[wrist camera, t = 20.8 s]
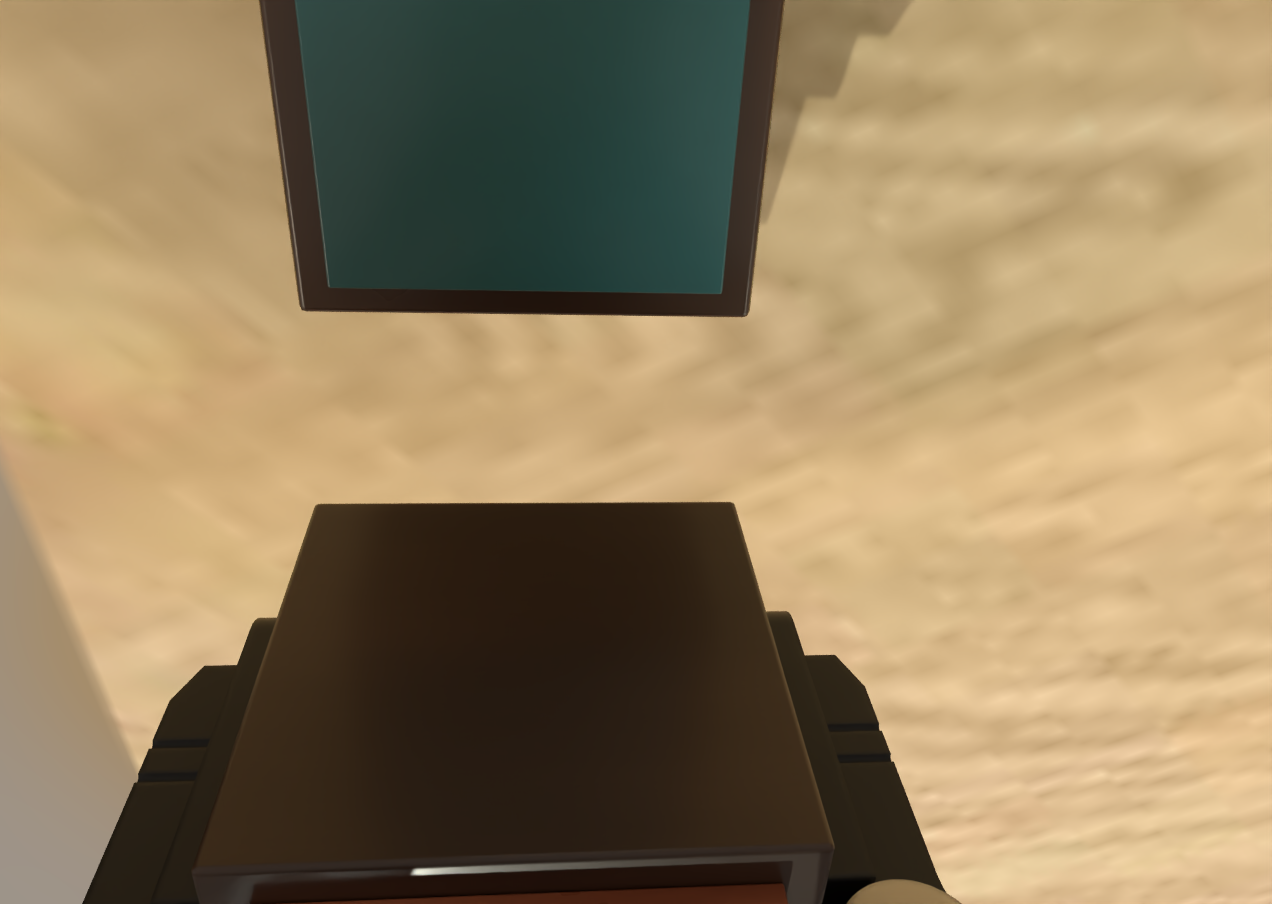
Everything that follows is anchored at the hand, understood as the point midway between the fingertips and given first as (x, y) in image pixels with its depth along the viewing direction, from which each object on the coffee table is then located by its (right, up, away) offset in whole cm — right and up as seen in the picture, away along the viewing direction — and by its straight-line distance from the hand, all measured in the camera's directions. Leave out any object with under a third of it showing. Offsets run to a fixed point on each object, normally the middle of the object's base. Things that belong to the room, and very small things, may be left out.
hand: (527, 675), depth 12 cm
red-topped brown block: (0, 0, 0) cm, 0 cm away
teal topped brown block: (0, +8, +1) cm, 8 cm away
